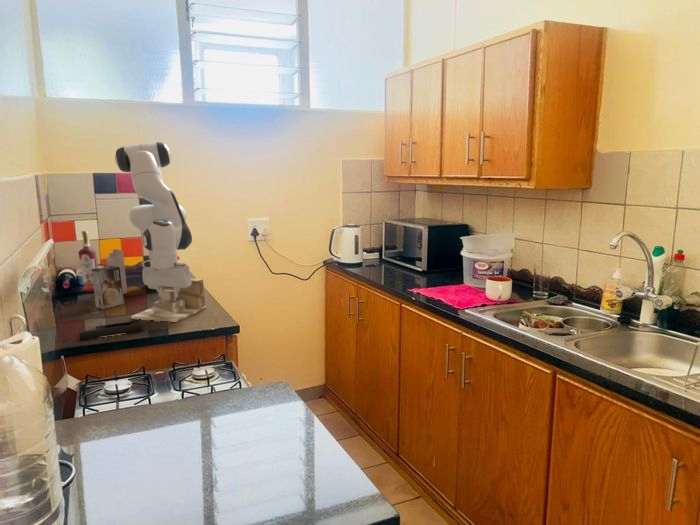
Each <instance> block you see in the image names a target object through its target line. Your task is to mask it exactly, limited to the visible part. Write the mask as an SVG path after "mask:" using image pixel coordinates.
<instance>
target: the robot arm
mask: <svg viewBox="0 0 700 525" xmlns="http://www.w3.org/2000/svg"><path fill="white" fill-rule="evenodd" d="M171 153H172V152H171V151H170V148H169V147H168V145H167V144H166V143H164V142H158V141H157V142H149V143H148V142H147V143H146V142H144V143H139V144H134V145H133V144H132V145H129V146H122V147H118V148H117V150H116V151H115V155H114V162H115V164H116V166H117V167H118V169H119V170H120V171H121V172H123V173H130V177H131V183H132V186H133V190H134V192H135V193H136V194H137V195H138V196H139V197H141V198H143V199H144V200H146V201H147V202H149V203H151V204H140V205H135V206H133V207H132V208H131V209H130V211H129V213H128V214H129V215H128V216H129V217H128V218H129V221H130V223H131V225H132V226H133V227H135V228H136V229H138V230H139V231H140V232H141V234H142V244H143V247H144V248H145V249H146V250H147V251H148V259H147V260H144V261H142V262H141V263H142V264H141V266H142V267H143V268H142V273H141V274H142V282H143V284H144V285H145V286H147V288H148V289H150V290H156V291H157V293H158V297H159V298H161V295H160V292H162V289H161V287H162V286H167V287H174V290H175V292H174V293H173V294H172V298H178V292H179V290H180V288H187V287H189V286H191V284H192V281H191V278H192V276H191V272H190V266H189V265H187V264H186V263H181V262H179V260H180V258H181V257H180V255H178V252H177V251H180V250H181V251H182V250H184V251H185V250H186V249H188V248H189V246H190V245H191V244H192V242H193V237H192V232H191V229H190V228H189V226H188V224H187V222H186V220H187V212H186V210H185V208H184V207H183V206H182V205H180V204H179V202H178V200H177V198H176V195H175V193H174V191H173V190H172V188H170V187H168V186H166V184H165V182H164V179H163V175H162V170H161V168H165V167H167V166H169V165H170V163H171V160H172V154H171Z"/></svg>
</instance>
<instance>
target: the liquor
mask: <svg viewBox="0 0 700 525" xmlns="http://www.w3.org/2000/svg"><path fill="white" fill-rule="evenodd" d="M81 235H82V246H83V248H81V249H80V250H78V257H79V264H80V265H79V266H80V268H81V269H80V270H81V275H82V281H83V282H82V283H83V289H82V290H83V291H85V292H86V293H94V292H93V291H94V287H93V279H92V271H91V269H96V268H98V260H97V258H98V257H97V250H96V249H95V248H92V247H91V244H90V239H89V236H90V234H89V230H82V231H81Z"/></svg>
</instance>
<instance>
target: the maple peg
mask: <svg viewBox="0 0 700 525" xmlns="http://www.w3.org/2000/svg"><path fill="white" fill-rule="evenodd" d="M174 292H175V290H165V291H162V292H160V295H161V297H160V300H161V303H169V304H171V303H173V302H176V298H172V294H173V293H174Z"/></svg>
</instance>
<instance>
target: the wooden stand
mask: <svg viewBox="0 0 700 525" xmlns="http://www.w3.org/2000/svg"><path fill="white" fill-rule="evenodd" d="M191 281H192V284H191V286H189V287H187V288H180V290H179V292H178V298H176V302H173V303H171V304H169V303H161V299H160V300H157V301H155V302H153V303H152V307H150V308H148V309H146V310H142V311H140V312H138V313H135V314H133V315H130V319H132V320H139V319H141V320H142V321H150V320H154V321H153V322H160V321H171V322H176V321H179V320H181V319H183V318H185V319H187V318H189V317H192V316H194V315H196V314H198V313H200V312H202V311H204V310H206V309H207V306H206V303H205V291H204V290H205V289H204V278H192V277H191ZM161 289H162V291H165V290H174V287H167V286H162V287H161ZM205 308H206V309H205ZM203 309H204V310H203ZM201 310H202V311H201ZM199 311H200V312H199ZM197 312H198V313H197ZM195 313H196V314H195ZM193 314H194V315H193ZM191 315H192V316H191ZM188 316H189V317H188ZM186 317H187V318H186ZM183 320H184V319H183ZM181 321H182V320H181ZM179 322H180V321H179Z"/></svg>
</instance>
